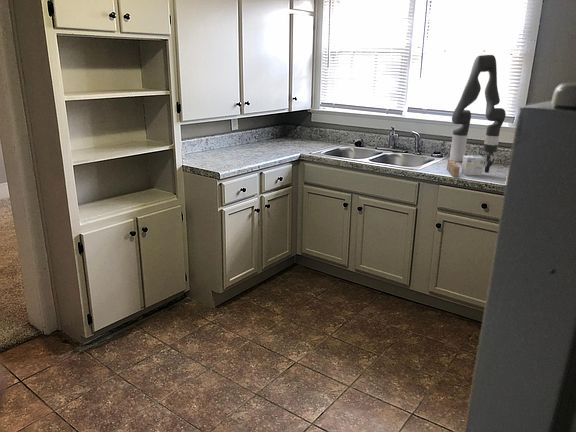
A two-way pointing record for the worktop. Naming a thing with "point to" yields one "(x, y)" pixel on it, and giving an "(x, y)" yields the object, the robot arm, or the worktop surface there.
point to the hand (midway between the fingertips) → (486, 172)
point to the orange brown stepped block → (453, 168)
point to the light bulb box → (472, 165)
